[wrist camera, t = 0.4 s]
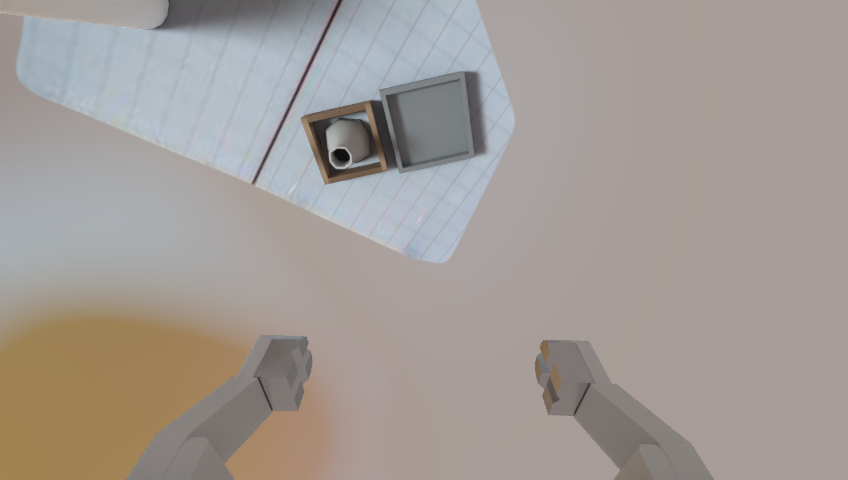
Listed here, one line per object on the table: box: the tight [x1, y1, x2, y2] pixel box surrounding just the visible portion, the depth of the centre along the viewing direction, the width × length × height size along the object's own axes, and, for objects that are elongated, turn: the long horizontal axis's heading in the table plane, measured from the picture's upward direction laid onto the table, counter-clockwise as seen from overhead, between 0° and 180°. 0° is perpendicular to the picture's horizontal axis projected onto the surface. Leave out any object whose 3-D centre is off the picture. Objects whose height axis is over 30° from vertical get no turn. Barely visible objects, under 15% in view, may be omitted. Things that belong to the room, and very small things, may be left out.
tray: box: [380, 71, 475, 173], centre depth 51 cm, size 12×12×2 cm
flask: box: [325, 118, 370, 169], centre depth 48 cm, size 7×7×10 cm
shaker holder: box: [301, 100, 388, 185], centre depth 51 cm, size 10×10×3 cm
